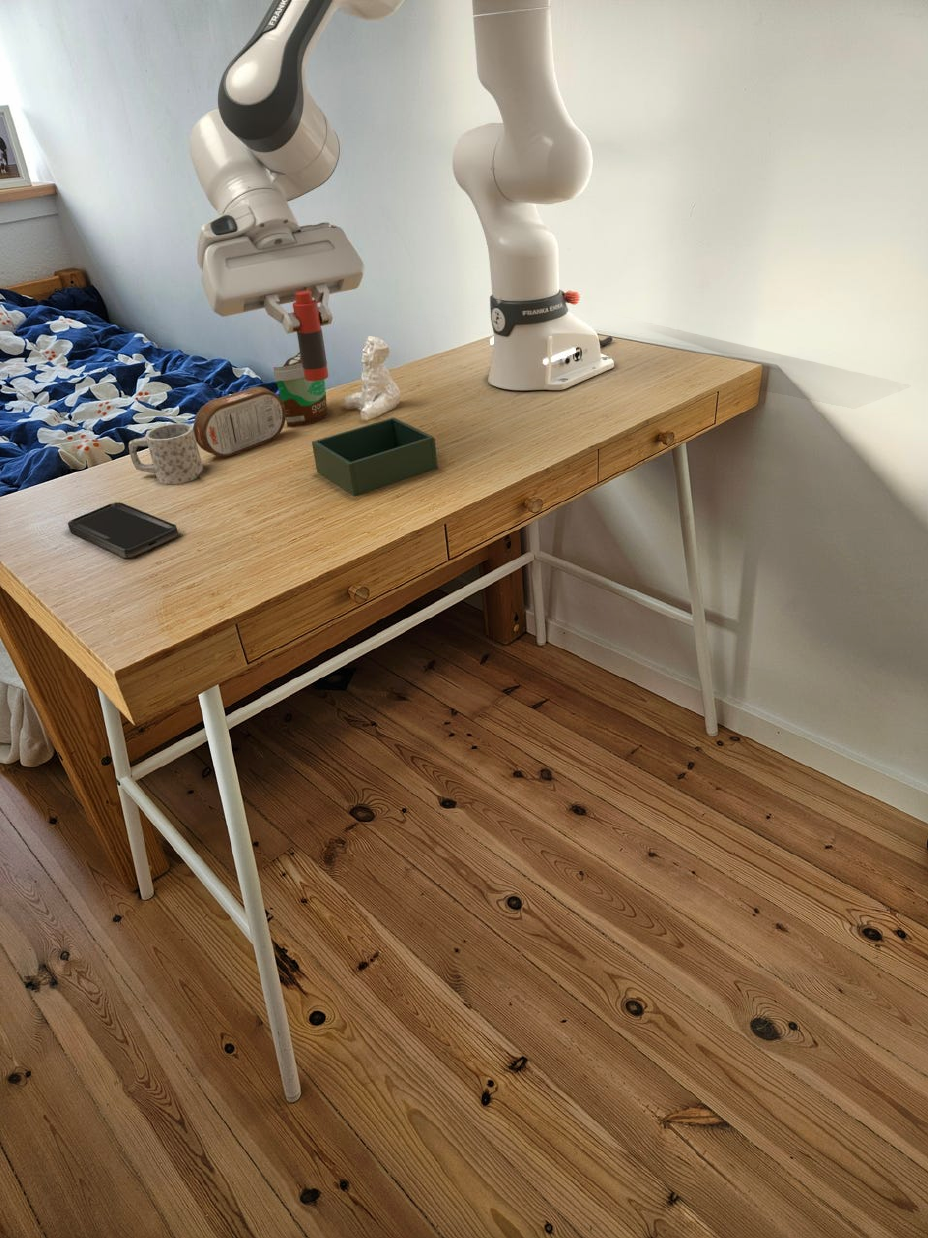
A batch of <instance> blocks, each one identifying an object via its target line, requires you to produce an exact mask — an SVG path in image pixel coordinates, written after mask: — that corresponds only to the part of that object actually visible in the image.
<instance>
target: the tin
mask: <svg viewBox="0 0 928 1238" xmlns="http://www.w3.org/2000/svg"><path fill="white" fill-rule="evenodd" d="M285 425H286V413H285V406H284V403H283V401H282V399H281V398H280V395H278V394H277V393H275V392H273V391H271V390H270V389H268V388H266V387H263V386H253V387H250V388H247V389H244V390H240V391H237V392H235V393H232V394H227V395H224V396H221V397H219V398H215V399H212V400H209V401H208V402H206V403H205V404H204V405H202V406H201V407H200V409H199V410H198V412H197V413H196V415H195V418H194V421H193V430H194V434H195V438H196V442H197V446H198V447H199V448H201V449H202V450H203V451H205V452H206V453H209V454H212V455H214V456H216V457H222V458H227V457H230V456H234V455H236V454H240V453H242V452H244V451H247V450H250V449H253V448H256V447H258V446H261V445H265V444H266V443H270V442H271V441H273V440H275V439H276V438H277V437H278V436H279V435H280V434H281V433H282V432H283V429H284V427H285Z"/></svg>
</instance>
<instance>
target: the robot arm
mask: <svg viewBox="0 0 928 1238" xmlns="http://www.w3.org/2000/svg"><path fill="white" fill-rule="evenodd" d="M404 1H405V0H273V1H272V3H271V4H270V6H269V7H268V9H267V11H266V13H265V14H264V16H263V18H262V20H261V22H260V23H259V25H258V27H257V29H256V30H255V31H254V33H253V35H252V36H251V37H250V39H249V40H248V42H247V43H246V44H245V46H243V48H242V49H241V50H240V51H239V52H238V53H237V54H236V55H235V57H233V58H232V60H231V61H230V62H229V63H228V65H227V67H226V68H225V69H224V72H223V74H222V76H221V79H220V82H219V84H218V85H219V86H218V90H217V91H218V92H217V109H212V110H210V111H208V112H206V113H205V114H204V115H202V116H201V117H200V118H199V119H198V120H197V121H196V123H195V125H194V126H193V128H192V130H191V133H190V139H189V153H190V158H191V161H192V165H193V167H194V170H195V173H196V177H197V178H198V181H199V183H200V185H201V188H202V189H203V192H204V194H205V196H206V198H207V200H208V202H209V203H210V205H211V206H212V207H213V208H214V209H215V210H216V212H217V214H218V217H216V218H213V219H212V220H210V221H208V222H206V223H204V224H203V225H202V226H201V229H200V231H199V236H198V240H197V250H196V253H197V257H196V258H197V264H198V266H199V268H200V269H201V283H202V287H203V290H204V293H205V296H206V299H207V301H208V304H209V306H210V308H211V310H212V311H213V312H214V313H215V314H217V315H219V316H221V317H228V316H233V315H238V314H243V313H247V312H251V311H252V312H253V311H257V310H261V309H262V310H263V309H264V310H265V312H266V314H267V315H268V316H270V317H271V318H272V319H274V320H275V321H277V322H278V323H280V324H281V325H282V326H283V328H284V331H285V333H286V334H292V333H297V331H299V328H300V322H299V320H298V319H297V316H296V314H295V312H294V311H293V312H288V311H287V310H286V309H285V308H284V307H283V306H282V305H287V304H291V303H294V302H296V297H295V293H296V292H299V291H311V292H312V299H313V300H316V301H317V304H320V305H319V306H318V311H319V317H320V324H321V327H323V326H328V325H331V324H332V321H333V314H332V312H331V310H330V308H329V300H330V299H329V298H330V295H333V294H338V293H342V292H343V293H344V292H347V291H351V290H356V289H358V288H359V286H360V284H361V282H362V281H363V278H364V274H365V270H366V269H365V267H366V266H365V264H364V261H363V260H362V258H361V256H360V255H359V253H358V252H357V250H356V248H355V247H354V246H353V244H352V243H351V241H350V240H349V238H348V236H347V234H346V233H345V231H344V229H343V228H341V226H337V225H335V224H330V222H327V221H326V222H320V223H317V224H306V225H302V226H301V225H300V224H299V222H298V220H297V218H296V217H295V214H294V212H293V211H292V209H291V207H290V205H289V202H291V201H293V200H295V199H297V198H300V197H302V196H304V195H306V194H308V193H310V192H311V191H314V190H315V189H317V188H319V187H321V186H322V185H324V184H325V183H326V182H327V181H328V180H329V179H330V178H331V176H332V175H333V174H334V172H335V170H336V168H337V165H338V163H339V159H340V153H341V152H340V151H341V147H340V145H341V144H340V140H339V137H338V134H337V133H336V131H335V130H334V128H333V127H332V125H331V123H330V122H329V120H328V118H327V117H326V116H325V114H324V112H323V110H322V109H321V108H320V107H319V105H318V104H317V103H316V101H315V100H314V98H313V97H312V95H311V93H310V92H309V89H308V87H307V82H306V65H307V61H308V59H309V57H310V55H311V53H312V52H313V50H314V48H315V46H316V45H317V43H318V41H319V39H320V37H321V35H322V34H323V32H324V31H325V28H326V27H327V25H328V23H329V22H330V20H331V18H332V16H333V14H334V13H335V12H336V11H337V10H338V11H340V12H341V13H344V14H346V15H348V16H351V17H353V18H357V19H360V20H365V21H378V20H379V21H380V20H382V19H383V20H384V19H386V18H388V17H390V16H393V15H394V14H395V13H396V12H397V11H398V10H399V9H400V7H401V6H402V5H403V3H404ZM471 4H472V16H473V17H472V20H473V32H474V33H473V34H474V48H475V62H476V73H477V77H478V80H479V83H480V84H481V85H482V86H483V88H484V89H485V90H486V91H487V92H488V93H489V94H490V95H491V96H492V98H493V100H494V101H495V103H496V105H497V108H498V110H499V114H500V116H501V120H502V122H489V123H486V124H482V125H479V126H476V127H474V128H472V129H469V130H467V131H465V132H464V133H463V134H462V135H461V136H460V137H459V138H458V140H457V142H456V144H455V146H454V149H453V153H452V162H451V163H452V171H453V176H454V178H455V181H456V183H457V184H458V187H460V188H461V190H462V191H464V192H465V194H466V196H467V197H468V198H469V200H470V201H471V203H472V205H473V207H474V210H475V211H476V214H477V216H478V219H479V222H480V225H481V227H482V230H483V233H484V238H485V240H486V245H487V250H488V258H489V267H490V268H489V270H490V271H489V272H490V278H491V279H490V281H491V295H490V296H489V310H490V321H491V322H490V323H491V326H492V332H493V333H492V335H493V336H492V337H491V338H490V340H489V341H490V345H492V352H491V353H492V354H491V361H490V368H489V373H488V378H487V381H488V383H489V384H490V385H491V386H493V387H496V388H499V389H504V390H510V391H538V390H539V391H541V390H542V391H543V390H547V391H563V390H566V389H569V388H571V387H573V386H575V385H577V384H579V383H581V382H584V381H586V380H588V379H591V378H593V377H595V376H597V375H601V374H602V373H605V372H607V371H610V370H611V369H613V368H615V361H614V360H613V359H612V357H610V356H607V355H606V354H603V353H602V352H601V347H603V346H607V345H608V344H610V343H611V342H612V341H613V336H608V337H606V338H605V339H600V338H599V336H598V334H597V332H596V331H595V329H594V328H593V327H591V326H590V325H588V323H585V322H584V321H583V320H581V319H580V318H578V317H577V316H575V315H574V314H573V313H571V312H570V311H569V307H568V305H567V304H571V305H575V306H576V305H577V304H578V303H579V301H580V300H581V299H580V298H581V295H580V294H579V292H578V291H572V290H567V291H566V292H565V291H563V290H562V289H560V275H559V274H560V273H559V272H560V271H559V270H560V269H559V245H558V242H557V238H556V237H555V235H554V234H553V233H552V231H550V230H549V228H548V227H547V226H546V225H545V223H544V222H543V220H542V217H541V216H540V214H539V211H538V208H537V205H546V206H549V205H554V204H558V203H563V202H567V201H570V200H573V199H575V198H577V197H579V195H580V194H582V192H584V190H585V189H586V187H587V185H588V184H589V181H590V177H591V175H592V171H593V159H594V158H593V151H592V147H591V144H590V142H589V140H588V138H587V136H586V135H585V134H584V132H582V131H581V130H580V129H579V127H578V126H577V125H576V124H575V122H574V121H573V120H572V118H571V116H570V114H569V112H568V110H567V108H566V105H565V103H564V100H563V98H562V94H561V92H560V89H559V85H558V81H557V77H556V76H557V75H556V71H555V62H554V49H553V32H552V31H553V30H552V12H551V11H552V10H551V9H552V8H551V0H471Z"/></svg>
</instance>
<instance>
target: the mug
mask: <svg viewBox="0 0 928 1238" xmlns="http://www.w3.org/2000/svg"><path fill="white" fill-rule="evenodd" d="M193 428H194V426H193V425H192V424H189V423H185V422H177V423H168V424H164V425H160V426H159V425H158V426H156V427H154V428H152V429H150V430H149V431H147V432H146V433H145V436H143V437H139V438H134V439H132V440H130V441H129V442H128V450H129V456H130V459H131V462H132V464H133V467H134V468H135V470H137V471H140V472H145V473H150V474H155V475H156V479H157V481H158V483H161V484H164V485H179V484H180V485H181V484H185V483H188V482H192V481H194V480H196V479H198V478H200V475H199V474H201V473H202V472H203V470H204V466H203V461H202V458H201V453H200V450H199V445H198V443H197V442H196V438H195V434H194V429H193ZM138 447H148V452H149V454H150V459H151V461H152V463H150V464H144V463H142V462H141V460H140V459H139V458H140V457H139V455H138V451H137V450H138V449H137V448H138Z"/></svg>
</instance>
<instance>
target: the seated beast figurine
mask: <svg viewBox="0 0 928 1238" xmlns="http://www.w3.org/2000/svg"><path fill="white" fill-rule="evenodd" d="M361 350H362V351H361V352H362V354H361V355H362V356H361V361H360V362H361V364H363V365H362V372H361V376H360V379H361V391H360V392H354V393H350V395H347V396H346V397H344V404H345V408H346V410H347V411H353V410H357V411H360V414H359V415H360V418H361V420H365V421H369V420H372V419H375V418H377V417H379V416H382V415H383V414H387V413H389V412H391V411H393V410H396V408H397V406H398V405H399V403H400V401H401V398H402V392H401V390H400V389H399V387H398V385H397V383H396V382H395V381H394V380H393V378H392V376H391V373H390V372H389V369H388V367H387V366H386V365H385V364H384V362H386V359H387V358H389V354H390V348H389V345H388V344H387V343H386V341H385V340H384V339H382V338H380V337H377V336H374V335H373V336H372V335H368V336H367V338H366V341H365V346H364V348H363V349H361Z"/></svg>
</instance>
